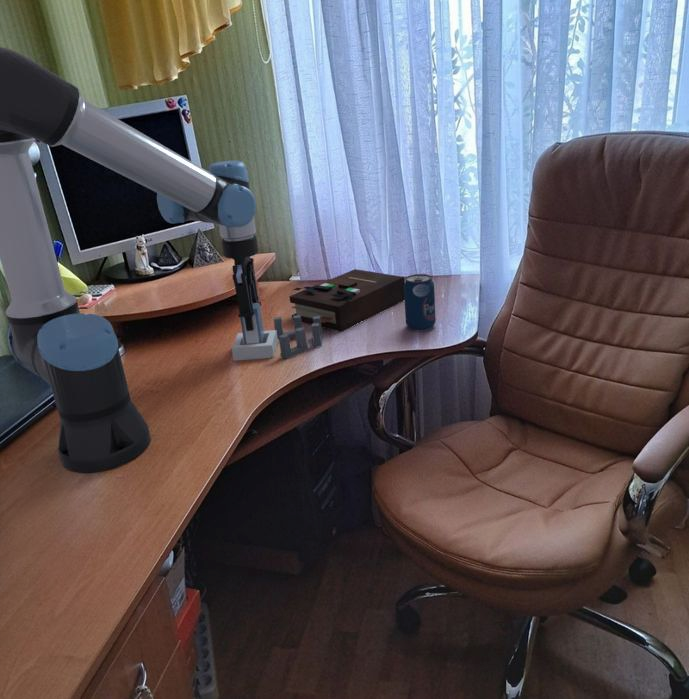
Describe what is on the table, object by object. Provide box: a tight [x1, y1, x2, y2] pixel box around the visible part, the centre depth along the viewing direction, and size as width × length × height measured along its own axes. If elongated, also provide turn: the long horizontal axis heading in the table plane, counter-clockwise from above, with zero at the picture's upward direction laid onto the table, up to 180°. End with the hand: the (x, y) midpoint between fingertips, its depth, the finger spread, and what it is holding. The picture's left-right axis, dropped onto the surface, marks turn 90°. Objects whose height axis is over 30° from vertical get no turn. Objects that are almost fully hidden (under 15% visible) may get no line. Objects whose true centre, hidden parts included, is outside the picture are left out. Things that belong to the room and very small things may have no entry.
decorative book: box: [289, 268, 406, 332], centre depth 169 cm, size 19×8×30 cm
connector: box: [239, 303, 265, 344], centre depth 148 cm, size 4×4×9 cm
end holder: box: [230, 329, 279, 362], centre depth 150 cm, size 9×9×3 cm
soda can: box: [404, 273, 437, 332], centre depth 153 cm, size 7×7×12 cm
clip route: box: [273, 315, 324, 360], centre depth 150 cm, size 11×14×5 cm
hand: (254, 338), depth 149 cm, fingers closed on connector, 4 cm apart
